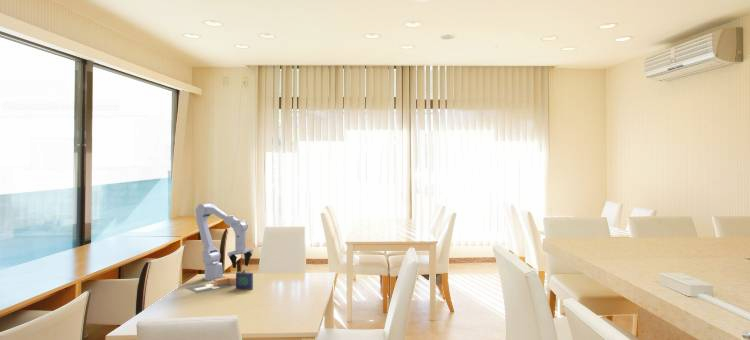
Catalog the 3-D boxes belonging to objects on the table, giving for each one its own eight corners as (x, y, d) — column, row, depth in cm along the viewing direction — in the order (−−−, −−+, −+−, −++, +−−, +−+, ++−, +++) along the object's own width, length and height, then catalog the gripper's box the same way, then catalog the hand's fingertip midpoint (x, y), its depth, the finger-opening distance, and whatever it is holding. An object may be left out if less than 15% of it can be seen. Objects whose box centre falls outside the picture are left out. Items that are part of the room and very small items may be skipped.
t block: (227, 280, 262) (227, 275, 262) (236, 283, 255) (236, 278, 255) (211, 283, 255) (211, 278, 255) (220, 287, 248) (220, 281, 248)
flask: (253, 288, 247) (253, 268, 247) (251, 290, 244) (251, 270, 244) (236, 288, 248) (236, 268, 247) (234, 289, 245) (234, 269, 245)
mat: (237, 278, 268) (237, 277, 268) (250, 282, 259) (250, 282, 259) (185, 288, 246) (185, 287, 246) (196, 293, 236) (196, 293, 236)
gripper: (232, 245, 254) (232, 269, 254) (255, 242, 264) (255, 265, 264) (226, 243, 258) (226, 267, 259) (249, 240, 269) (248, 263, 269)
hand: (240, 266), depth 262 cm, fingers open, 7 cm apart
